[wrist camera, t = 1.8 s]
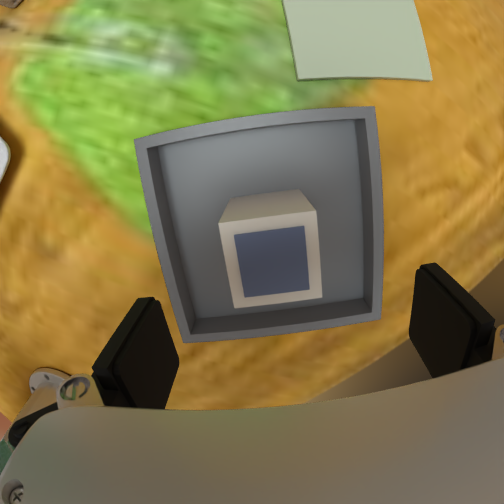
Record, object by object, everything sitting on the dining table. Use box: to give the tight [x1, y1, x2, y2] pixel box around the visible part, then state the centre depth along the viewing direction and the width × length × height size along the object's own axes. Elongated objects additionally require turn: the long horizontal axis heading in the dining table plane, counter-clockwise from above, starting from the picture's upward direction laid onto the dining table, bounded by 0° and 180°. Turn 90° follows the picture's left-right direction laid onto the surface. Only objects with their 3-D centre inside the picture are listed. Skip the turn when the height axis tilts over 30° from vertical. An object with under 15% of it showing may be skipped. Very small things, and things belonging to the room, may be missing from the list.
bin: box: [134, 106, 384, 343], centre depth 22 cm, size 16×16×3 cm
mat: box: [282, 0, 433, 82], centre depth 17 cm, size 11×11×1 cm
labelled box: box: [218, 189, 322, 308], centre depth 20 cm, size 5×5×7 cm
